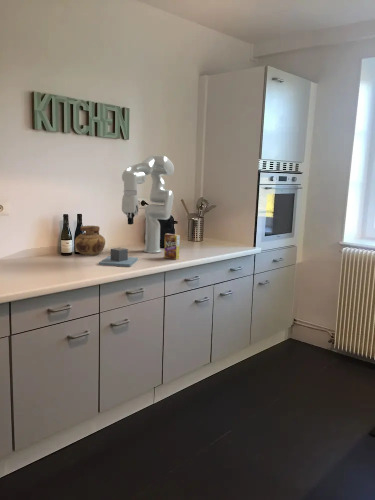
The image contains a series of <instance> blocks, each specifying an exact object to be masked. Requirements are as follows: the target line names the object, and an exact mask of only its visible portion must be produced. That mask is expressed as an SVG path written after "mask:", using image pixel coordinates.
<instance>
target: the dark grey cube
mask: <svg viewBox="0 0 375 500" xmlns="http://www.w3.org/2000/svg"><path fill="white" fill-rule="evenodd" d="M110 256H111V260H114V261H118V262H120V261H125V260H128V257H129V249H128V248H126V247H125V248H124V247H113V248H110Z"/></svg>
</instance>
